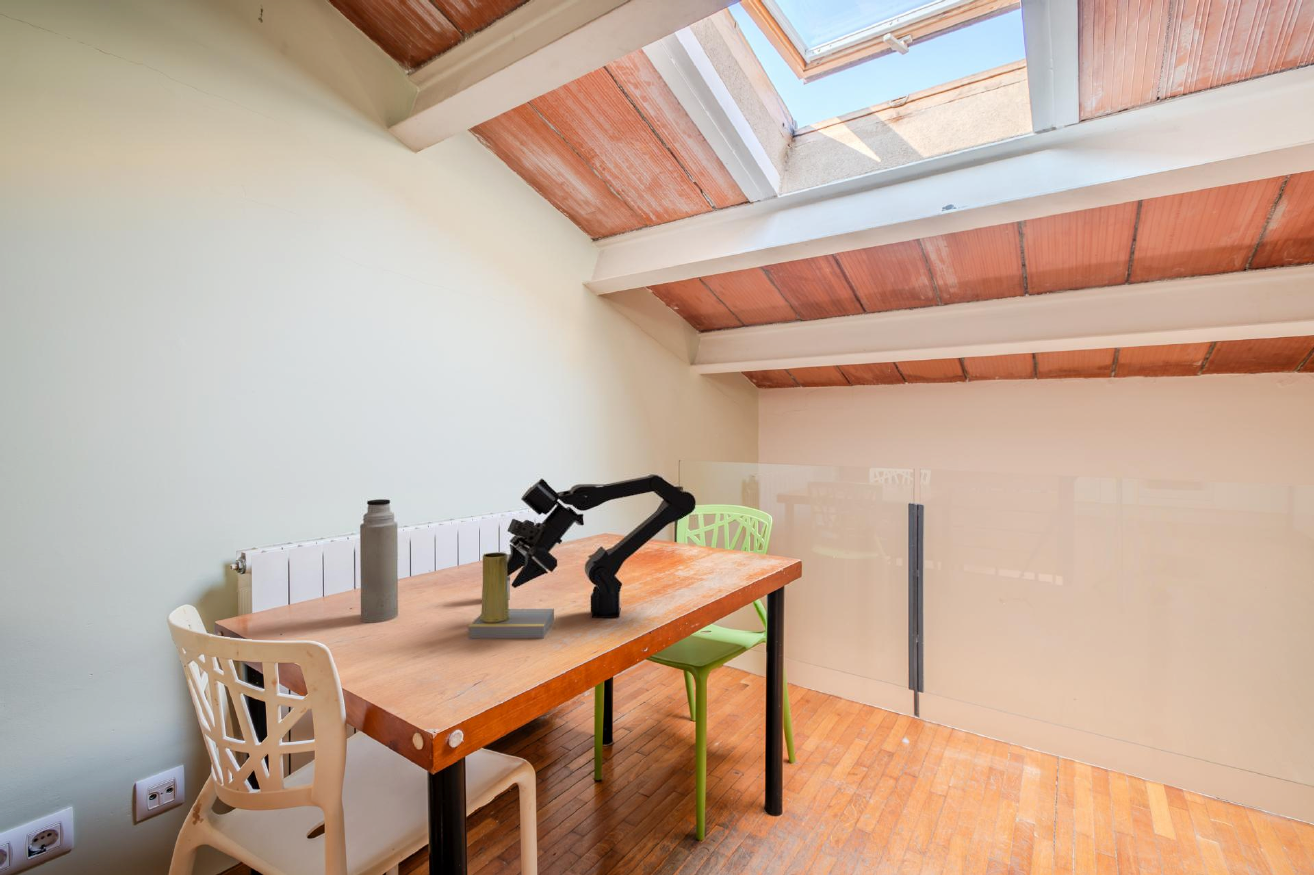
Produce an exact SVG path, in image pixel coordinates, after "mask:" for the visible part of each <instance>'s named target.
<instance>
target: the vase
mask: <svg viewBox="0 0 1314 875" xmlns="http://www.w3.org/2000/svg"><path fill="white" fill-rule="evenodd" d="M494 552H495V553H494ZM494 552H486V553H487V554H485V553H483V555H482V588H481V589H482V590H481V591H482V592H481V611H480V612H481V613H480V615H481V620H482V621H483V622H486V623H498V622H502V621H505V620H507V619H508V618H509V609H510V608H509V607H510V606H509V605H510V604H509V600H508V585H507V554H506V553H501V552H502V551H499V552H498V551H494Z"/></svg>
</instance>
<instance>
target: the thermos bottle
mask: <svg viewBox="0 0 1314 875" xmlns="http://www.w3.org/2000/svg"><path fill="white" fill-rule="evenodd" d="M390 503H391V500H390V499H385V498H384V499H380V498H379V499H371V500H367V501H366V504H367V505H368V506H367V512H366V513H365V514H363V519H362V521H363V523H361V524H360V525H359V535H360V536H359V537H360V538H359V541H360V542H359V544H360V546H359V547H360V548H359V550H360V555H359V557H360V558H359V559H360V560H359V561H360V564H359V565H360V566H359V568H360V569H359V570H360V621H362V622H364V623H381V622H386V621H389V620H393V619H395V618H397V617H398V616H399V582H398V581H399V578H398V576H399V575H398V572H399V571H398V567H399V566H398V564H399V563H398V562H399V561H398V560H399V559H398V558H399V557H398V553H399V552H398V550H399V547H398V544H399V543H398V541H399V540H398V522H397V521H395V517H396V515H395V513H394V512H392V511H391V505H390Z"/></svg>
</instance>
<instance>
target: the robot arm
mask: <svg viewBox="0 0 1314 875" xmlns="http://www.w3.org/2000/svg"><path fill="white" fill-rule="evenodd" d="M652 492H653V493H655V494H656V495H657V496H658V497H659V498H660V499H662V500H661V502H660V504H659V506H658V507H657V508H656V510H655V511H654V512H653V513H652V514H651V515H650V516H648V517H647V518H646V519H645V520H644V521H642V523H640V524H639V525H637V526H636V527H635V528H634V529H633V530H632V531H631V532H629V533H628V534H627V535H626V536H625V537H623V538H622V539H621V540H619V542H617V543H616V544H615V545H614V546H612V547H611V548H608V549H605V548H604V547H603V545H602V546H600V547H598V549H597V550H596V551H594V553H592V554H591V555H588V560H587V561H586V562H585V564H584V573H585V575H586V577H587V578H588V580H589V581H590V582H591V583H592V584H593V585H594V586H593V589H592V593H591V594H590V613H591V614H592V615H591V618H620V616H621V611H622V610H621V608H622V607H621V588H622V586H623V582H622V581H620V579H619V578H618V577H617V576H616V575H617V574H618V573H619V571H620V569H621V567H622V566H623V564H624V562H625V561H626V560H628V559H629V558H630V557H631V556H632V555H634V554H635V553H636V552H637V551H638V550H640V549H641V548H642V547H643V546H645V544H647V543H648V542H649V541H651V539H652V538H654V537H655V536H656V535H657V534H659V533H660V532H661V531H662V530H663V529H665V527H667V526H668V525H670V524H672V523H675V522H677V521H680V520H682V519H683V518H685V517H687V516H688V515H690V514H692V513H693V512H694V510H695V509H696V503H697V502H696V499H695V496H694V495H693V493H691V492H689V491H686V490H682V489H679V488H677V487H676V486H674V485H673V484H671V483H670V482H668V481H667V480H665V479H664V478H663V477H662V476H661V475H659V474H651V473H650V474H649V475H647V476H642V477H636V478H631V479H626V480H621V481H615V482H610V483H606V484H601V483H598V484H597V483H593V484H592V483H583V484H581V483H578V484H575V485H573V486H571V488H570V489H568V490H563V491H558V492H557V491H555V489H553V488H552V487H551V486H550V485H549V484H548V482H547V481H546V480H545V479H543V478H540V479H539V480H537V481H536V483H534V484H533V485H532V486H531V487H529V488H528V489H527V491H526V492H525V493H524V494H523V496H521V498H520V500H521V501H522V502H524V503H525V504H526V505H527V506H528V507H529V508H531V510H532V511H534V512H535V513H536V514H537V515H538V516H540V515H541V514H543V515H547V516H546V518H545V519H544V520H543V521H542V522H536V523H535V522H534V521H533V520H532V521H531V520H528V519H525V520H524V521H520V520H518V519H515V518H512V519H511V520H510V521H511V522H510V524H509V526H508V529H507V530H506V531H507V532H508V533H510V534H511V535H513V536H512V538H511V539H510V540H509V543H510V544H509V550H510V553H509V554H510V557H509V559H508V561H507V577H508V576H509V575H510V576H511V575H513V574H514V573H515V572H517V571H518V570H519V569H520V571H519V572H518V573H517V575H516V577H514V579H513V581H512V583H510V586H512V588H513V589H517V588H518V587H520V586H522V585H524V584H526V583H528V582H531V581H533V580H535V579H536V578H539V577H541V576H543V575H545V574H548V573H549V572H551V573H553V571H554V570H555V569H556V568H557V567H558V559H557V558H556V557H555V556H553V555H552V554H551V553H550V552H551V550H552V549H553V548H554V547H555V546H556V545H557V544H559V545H561V543H562V542H563V539H562V538H563V536H565V534H566V533H567V532H568V530H569V529H570V528H571V527H572V526H573V525H574V523H575V524H576V525H578V526H584V525H585V522H584V513H577V512H576V511H575V510H574V509H576V510H578V511H581V512H582V511H583V512H584V511H585V512H586V511H588V510H591V509H593V508H596V507H598V506H600V505H602V504H604V503H606V502H609V501H612V500H617V499H622V498H627V497H631V496H637V495H643V494H647V493H652ZM563 504H564V505H569V506H567V507H565V506H564V505H563ZM571 506H572V507H573V508H574V509H573V508H572V507H571Z"/></svg>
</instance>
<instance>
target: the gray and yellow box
mask: <svg viewBox="0 0 1314 875" xmlns="http://www.w3.org/2000/svg"><path fill="white" fill-rule="evenodd" d="M554 621H555V608H509V618H508V619H507V620H505V621H502V622H498V623H486V622H483V621H482V620H481V614H480V615H478V617H477V618H475V620H473V622H472V623H470V624H469V625H468V639H545V636H546V635H547V634H548V631H549V629H550V627H551V625H552V624H553V622H554Z"/></svg>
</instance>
